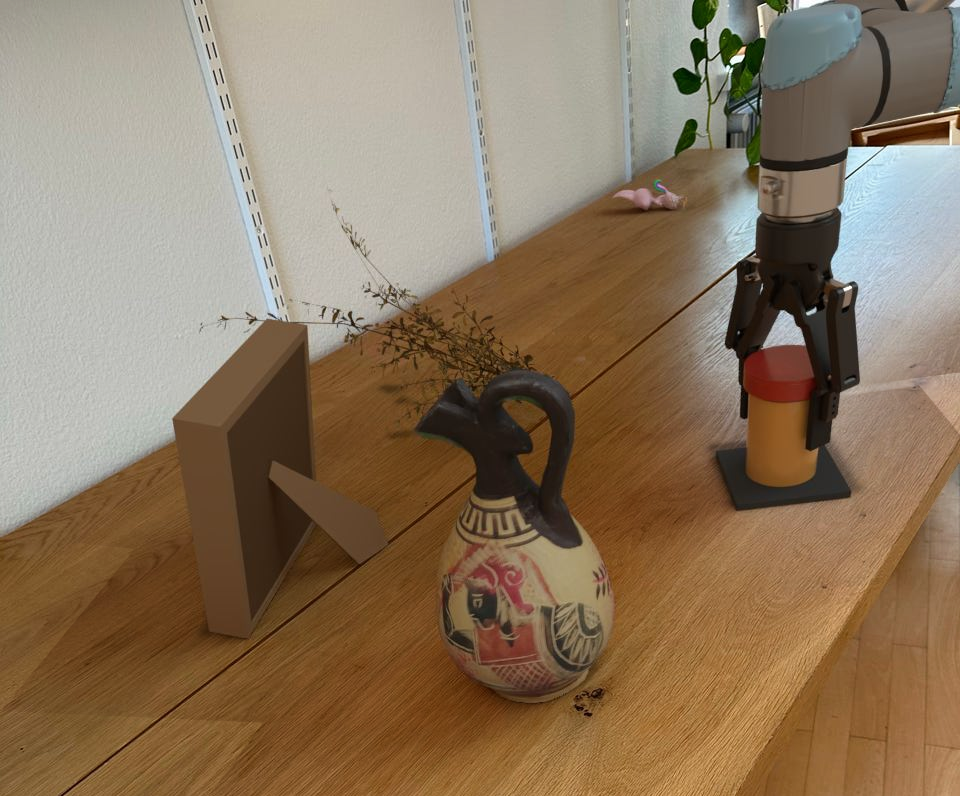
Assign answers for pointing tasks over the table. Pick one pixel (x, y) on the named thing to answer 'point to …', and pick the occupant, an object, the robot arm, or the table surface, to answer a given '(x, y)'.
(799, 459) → the jar
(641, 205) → the pink toy figure
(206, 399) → the photo frame
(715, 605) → the table surface
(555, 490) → the ceramic jug
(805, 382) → the lid
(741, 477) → the mat
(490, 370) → the dried plant
